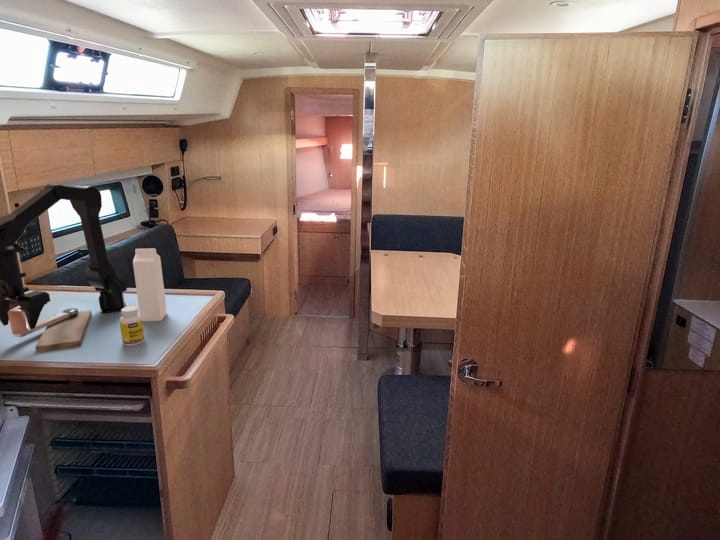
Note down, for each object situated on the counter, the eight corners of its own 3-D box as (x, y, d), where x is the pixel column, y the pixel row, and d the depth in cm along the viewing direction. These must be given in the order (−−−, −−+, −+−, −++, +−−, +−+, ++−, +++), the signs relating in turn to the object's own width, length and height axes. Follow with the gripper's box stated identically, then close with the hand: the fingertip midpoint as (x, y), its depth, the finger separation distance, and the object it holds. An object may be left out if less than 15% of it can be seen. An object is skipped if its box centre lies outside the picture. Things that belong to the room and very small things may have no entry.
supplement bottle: (130, 348, 122) (125, 313, 119) (118, 343, 124) (113, 309, 122) (149, 341, 126) (144, 307, 123) (137, 336, 129) (132, 303, 126)
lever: (81, 312, 140) (77, 290, 138) (20, 339, 122) (15, 313, 120) (70, 311, 141) (66, 289, 139) (9, 337, 123) (3, 312, 121)
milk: (161, 321, 139) (152, 250, 133) (140, 321, 139) (130, 251, 133) (167, 313, 145) (159, 246, 139) (147, 314, 145) (138, 246, 138)
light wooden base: (91, 314, 144) (91, 310, 144) (80, 345, 123) (79, 340, 122) (54, 319, 140) (53, 314, 140) (36, 352, 119) (35, 346, 119)
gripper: (-54, 277, 114) (-39, 335, 118) (4, 283, 109) (17, 343, 114) (-9, 265, 124) (3, 319, 129) (46, 270, 120) (57, 326, 124)
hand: (19, 326), depth 123 cm, fingers open, 9 cm apart
